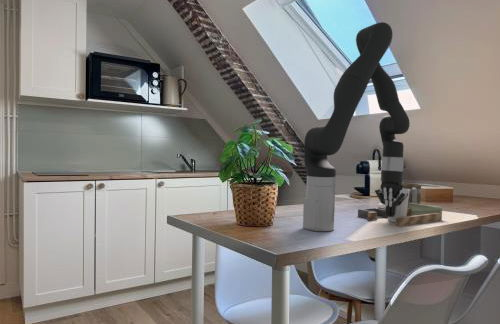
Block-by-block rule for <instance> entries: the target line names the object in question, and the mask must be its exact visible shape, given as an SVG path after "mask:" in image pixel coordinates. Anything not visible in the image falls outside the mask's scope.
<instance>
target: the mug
mask: <svg viewBox="0 0 500 324" xmlns="http://www.w3.org/2000/svg"><path fill="white" fill-rule="evenodd" d="M402 187H403V189H409V190H410V192H409V199H408V207H407V208H409V203H416V204H421V200H422V194H421V193H422V184H421V183H414V182H413V183H412V182H402Z"/></svg>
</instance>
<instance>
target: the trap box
mask: <svg viewBox="0 0 500 324" xmlns="http://www.w3.org/2000/svg"><path fill="white" fill-rule="evenodd" d="M377 215H378V216H383V217H386V218H387V219H388V216H386V206H379V207H369V208H368V207H367V208H360V209H357V217H360V218H365V219H366V220H367V221H376V220H378V219H377ZM386 218H385V219H386ZM442 219H443V207H442V206H437V205H428V204H423V203H422V204H421V203H420V204H416V203H409V208H407V215H406V217H399V218H396V222H395V227H405V226H412V225H417V224H425V223H432V222H438V221H439V220H440V221H442ZM440 221H439V222H440Z"/></svg>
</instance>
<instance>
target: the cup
mask: <svg viewBox="0 0 500 324" xmlns="http://www.w3.org/2000/svg"><path fill="white" fill-rule="evenodd" d="M403 191H404V192H405V193H408V196H407V197H406V198H405V200H404V201H403V202H402V203H401V204H400V205H399V206H395V214H394V216H393V217H388V218H387V221H389V222H393V223H396V218H399V217H407V216H406V215H407V207H408V199H409V192H410V190H409V189H403ZM398 197H399V195H398V196H397V198H398Z"/></svg>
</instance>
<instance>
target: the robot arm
mask: <svg viewBox="0 0 500 324" xmlns="http://www.w3.org/2000/svg"><path fill="white" fill-rule="evenodd" d="M392 41H393V29H392V27H391V25H390V24H389V23H387V22H383V21H381V22H377V23H374V24H371V25H369V26H367V27H364V28H363V29H360V30H359V31H358V33H357V34H356V37H355V45H356V47H357V50H358V53H359V56H358V57H356V59H355V60H354V61H353V62H351V64H350V65H349V66H348V67H347V68H346V69H345V70H344V71H343V73H342V74H341V76H340V78H339V80H338V82H337V84H336V86H335V87H334V90H333V91H334V92H333V111H332V114H331V115H330V118H329V119H328V121H327V123H326V124H325V126H317V127H312V128H310V129H309V130H308V131H306V134H305V137H304V141H303V142H304V143H303V145H304V146H303V148H304V149H303V150H304V151H303V153H304V154H303V155H304V158H303V159H304V167H305V169H306V192H305V194H306V195H305V198H303V209H302V210H303V215H302V216H303V217H302V218H303V219H302V228H303V229H305V230H309V231H313V232H331V231H334V230H335V208H336V207H335V201H336V200H335V199H336V176H337V175H336V174H337V173H336V172H337V171H336V167H334V166H333V165H332V164H330V162H329V161H328V156H333V155H335V154H336V153H338V151H339V150H340V148H341V147H342V145H343V142H344V140H345V137H346V134H347V131H348V128H349V126H350V124H351V120H352V118H353V116H354V114H355V112H356V110H357V107H358V105H359V103H360V102H361V100H362V98H363V97H364V94H365V92H366V90H367V88H368V85H369V83H370V81H371V82H372V86H373V88H374V89H373V90H374V92H375V97H376V100H377V104H378V108H379V109H380V110H381V111H383V112H386V113H388V115H385V116H384V117H382V118H381V120H380V121H379V126H378V128H379V134H380V139H381V142H382V159H381V166H380V167H381V170H380V171H381V172H380V182H381V184H380V187H379V188H378V189H375V190H374V192H375V194H376V196H377V198H378V200H379V202H380V203H381V204H382V205H385V206H384V207H386V216H388V217H393V216H394V214H395V206H399V205H400V204H401V203H402V202H403V201H404V200H405V198H406V197H407V196H408V193H405V192H404V191H403V187H402V183H404V182H403V179H404V147H405V146H404V143H403V142H402V141H400V140H397V138H396V135H403V134H406V133H407V132H408V131H409V128H410V118H409V116H408V114H407V112H406V110H405V109H404V107H403V105H402V103H401V102H400V98H399V94H398V90H397V87H396V84H395V82H394V80H393V78H392V76H390V75H389V73H388V72H387V71H386V70H385V69H384V68H383V66H382V65H381V63H380V62H381V60H382V59H383V57H384V55H385V54H386V53H387V51H388V50H389V48H390V45H392ZM398 195H399V197H398V198H397V196H398Z"/></svg>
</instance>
